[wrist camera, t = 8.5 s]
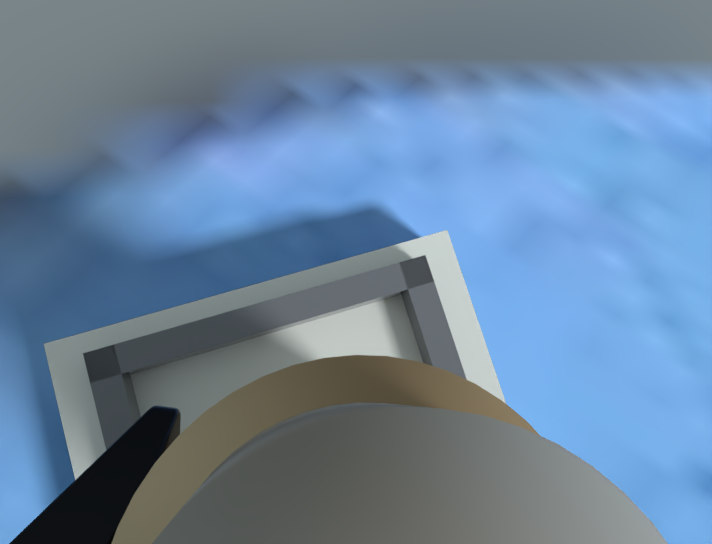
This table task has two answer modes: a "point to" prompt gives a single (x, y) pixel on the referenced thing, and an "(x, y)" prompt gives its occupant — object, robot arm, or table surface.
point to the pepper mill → (373, 468)
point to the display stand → (268, 339)
